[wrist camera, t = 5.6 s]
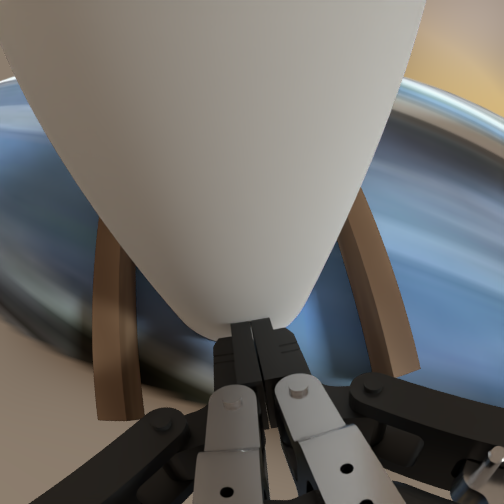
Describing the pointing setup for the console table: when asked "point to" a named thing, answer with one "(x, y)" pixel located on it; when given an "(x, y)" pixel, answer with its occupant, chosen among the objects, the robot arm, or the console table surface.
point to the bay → (125, 324)
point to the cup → (216, 132)
